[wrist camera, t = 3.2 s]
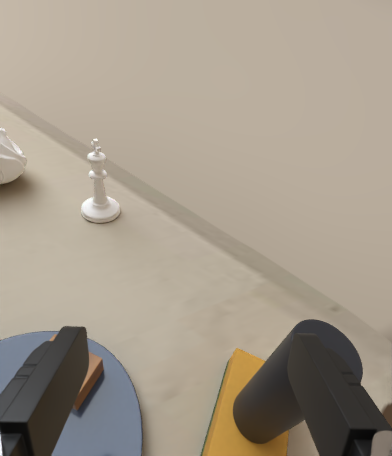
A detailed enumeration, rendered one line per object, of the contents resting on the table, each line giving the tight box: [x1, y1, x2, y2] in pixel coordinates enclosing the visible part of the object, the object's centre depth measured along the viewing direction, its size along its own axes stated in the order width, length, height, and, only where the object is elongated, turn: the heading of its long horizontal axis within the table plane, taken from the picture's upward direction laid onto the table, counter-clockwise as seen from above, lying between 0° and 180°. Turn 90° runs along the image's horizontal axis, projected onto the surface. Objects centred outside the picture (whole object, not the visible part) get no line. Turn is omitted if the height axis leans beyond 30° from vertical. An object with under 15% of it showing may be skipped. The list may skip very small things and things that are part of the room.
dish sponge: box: [201, 319, 363, 456], centre depth 16 cm, size 8×5×13 cm, turn 159°
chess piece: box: [81, 139, 120, 223], centre depth 32 cm, size 5×5×10 cm
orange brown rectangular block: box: [49, 334, 104, 410], centre depth 19 cm, size 4×3×2 cm
